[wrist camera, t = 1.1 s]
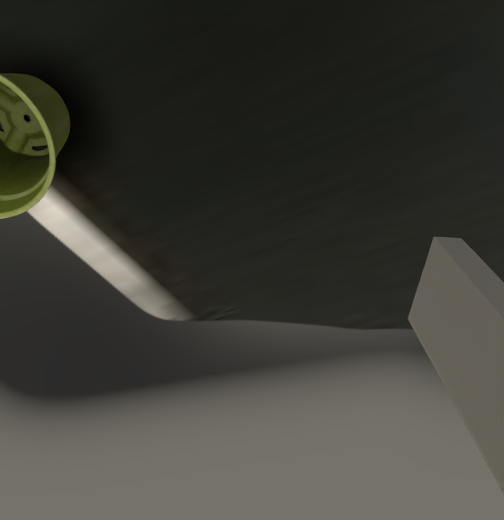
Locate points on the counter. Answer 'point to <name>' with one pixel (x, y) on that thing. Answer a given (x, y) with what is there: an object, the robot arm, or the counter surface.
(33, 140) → the plant pot
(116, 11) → the counter surface
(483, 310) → the robot arm
